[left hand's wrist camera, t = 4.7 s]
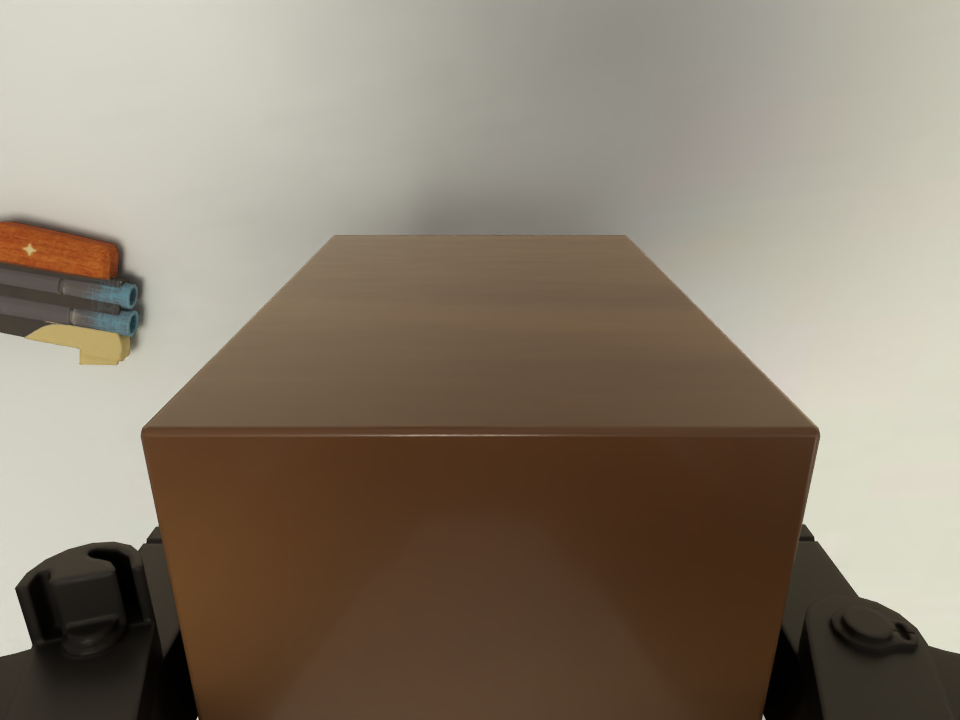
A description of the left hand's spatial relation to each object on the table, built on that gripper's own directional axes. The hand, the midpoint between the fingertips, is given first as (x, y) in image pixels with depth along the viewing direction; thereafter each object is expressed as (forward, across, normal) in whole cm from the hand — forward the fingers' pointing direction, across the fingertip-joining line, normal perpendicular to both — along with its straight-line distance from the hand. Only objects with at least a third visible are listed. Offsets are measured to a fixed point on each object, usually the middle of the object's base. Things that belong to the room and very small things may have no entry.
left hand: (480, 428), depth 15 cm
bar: (0, 0, -7) cm, 7 cm away
